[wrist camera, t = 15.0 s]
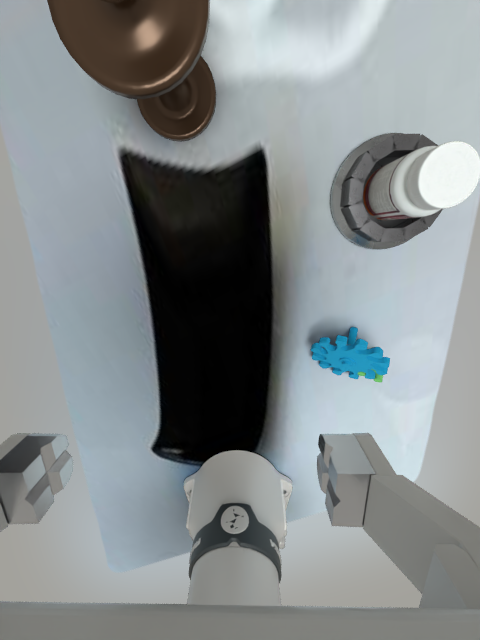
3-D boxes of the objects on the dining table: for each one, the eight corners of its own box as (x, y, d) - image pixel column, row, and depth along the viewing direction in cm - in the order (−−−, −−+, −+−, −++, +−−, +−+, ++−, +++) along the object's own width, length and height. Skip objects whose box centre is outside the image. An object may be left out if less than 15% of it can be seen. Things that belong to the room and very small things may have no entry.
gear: (294, 353, 40) (352, 337, 32) (305, 320, 43) (360, 298, 34) (347, 389, 43) (412, 383, 35) (353, 356, 46) (415, 343, 38)
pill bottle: (422, 184, 34) (506, 161, 23) (388, 230, 35) (451, 228, 24) (382, 154, 33) (449, 115, 22) (349, 202, 34) (397, 188, 24)
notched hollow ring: (425, 248, 37) (446, 249, 33) (326, 249, 37) (335, 251, 33) (445, 134, 33) (471, 121, 29) (334, 137, 33) (346, 124, 29)
